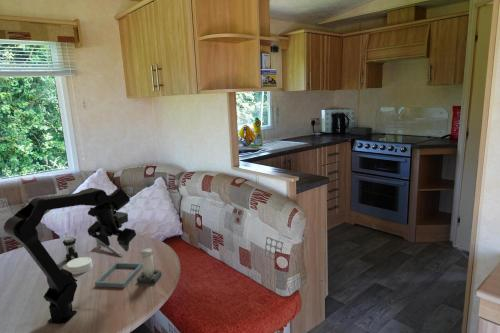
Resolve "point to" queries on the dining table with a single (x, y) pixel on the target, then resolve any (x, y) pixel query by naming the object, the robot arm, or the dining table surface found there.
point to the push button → (70, 249)
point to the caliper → (100, 244)
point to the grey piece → (149, 279)
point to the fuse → (147, 263)
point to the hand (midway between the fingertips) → (118, 248)
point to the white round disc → (79, 265)
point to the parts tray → (119, 284)
